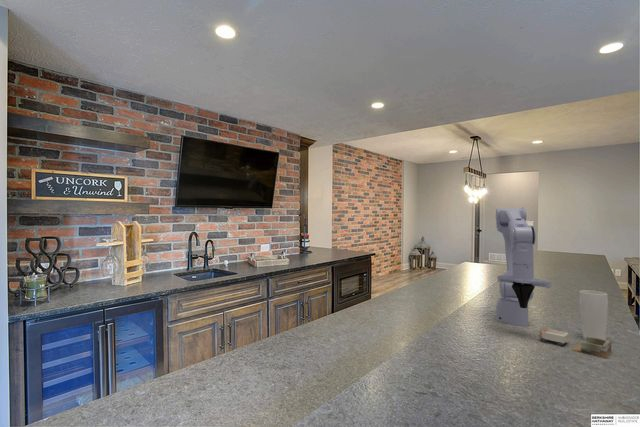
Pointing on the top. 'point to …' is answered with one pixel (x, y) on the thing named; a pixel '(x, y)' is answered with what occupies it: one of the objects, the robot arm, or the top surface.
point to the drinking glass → (593, 313)
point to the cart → (554, 336)
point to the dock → (594, 347)
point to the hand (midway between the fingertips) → (523, 307)
